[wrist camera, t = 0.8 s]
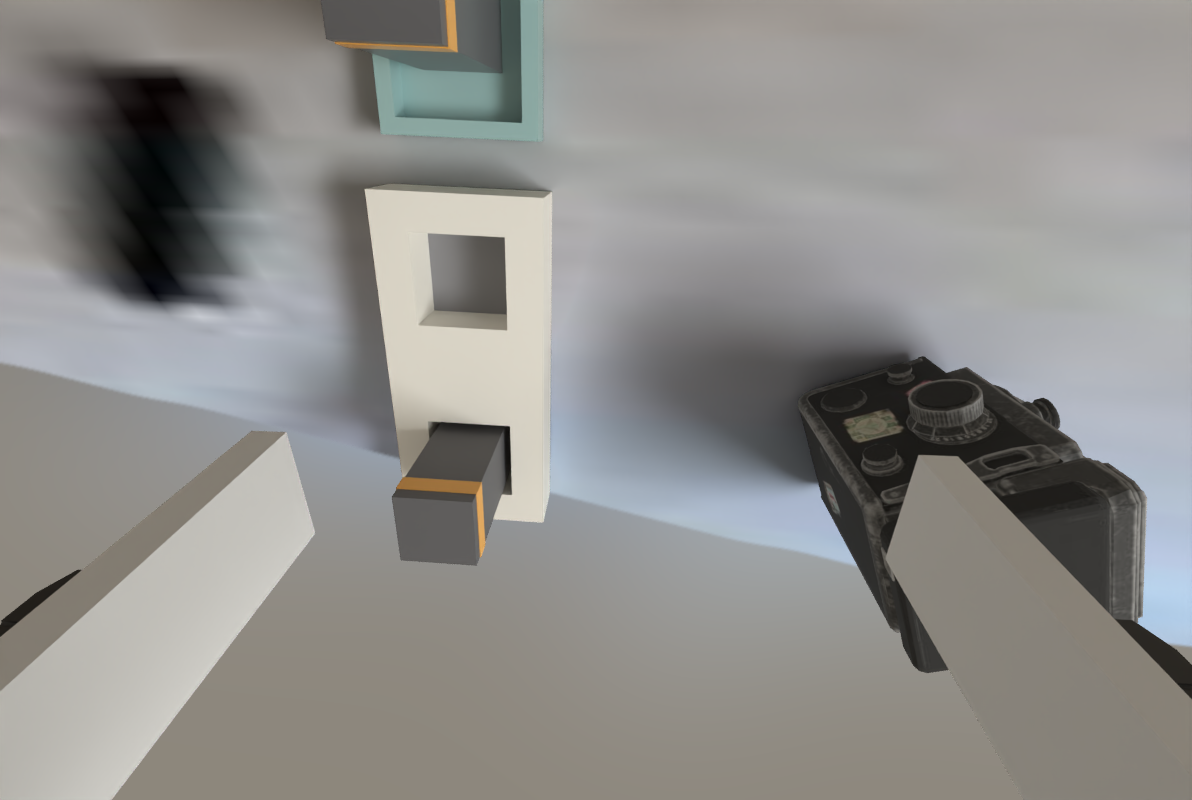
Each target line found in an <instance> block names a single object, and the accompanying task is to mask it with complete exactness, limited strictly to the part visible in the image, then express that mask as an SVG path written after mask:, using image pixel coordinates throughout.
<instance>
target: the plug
mask: <svg viewBox="0 0 1192 800" xmlns="http://www.w3.org/2000/svg"><path fill="white" fill-rule="evenodd" d="M321 5H322V12H323V19H324V26H325V33H326V39H328V40H331V41H334V42H335V44H337V45H340V46H344V47H347V48H356V49H359V50H362V51H365V52H369V53H372V54H375V55H378V56H381V57H384V58H387V59H391V60H394V61H397V62H400V63H403V64H406V65H410V66H413V67H416V68H419V69H422V70H434V71H457V72H479V73H502V74H503V71H502V34H501V0H321Z"/></svg>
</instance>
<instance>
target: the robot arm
mask: <svg viewBox="0 0 1192 800" xmlns="http://www.w3.org/2000/svg"><path fill="white" fill-rule="evenodd" d="M314 534H315V530H314V527H313V524H312V520H311V517H310V513H309V510H308V506H307V503H306V499H305V496H304V493H303V489H302V485H301V482H300V478H299V475H298V471H297V468H296V464H295V461H294V457H293V454H292V450H291V447H290V443H289V440H288V437H287V433H286V432H267V431H251V432H250V433H249V434H247V435H246V436H245V437H244V438H242V439H241V440H240V441H239V442H238V443H236V444H235V445H234V446H233V447H231V448H230V449H229V450H228V451H227V452H225V453H224V454H223V455H222V456H220V457H219V458H218V459H217V460H216V461H214V462H213V463H212V464H211V465H209V466H208V467H207V468H206V469H205V470H203V471H202V472H201V473H200V474H199V475H197V476H196V477H195V478H194V479H192V480H191V481H190V482H189V483H187V484H186V485H185V486H184V487H183V488H182V489H180V490H179V491H178V492H177V493H175V494H174V495H173V496H172V497H171V498H169V499H168V500H167V501H166V502H164V503H163V504H162V505H161V506H160V507H158V508H157V509H156V510H155V511H153V512H152V513H151V514H150V515H148V516H147V517H146V518H145V519H144V520H142V521H141V522H140V523H139V524H138V525H136V526H135V527H134V528H133V529H131V530H130V531H129V532H128V533H127V534H125V535H124V536H123V537H122V538H121V539H119V540H118V541H117V542H116V543H114V544H113V545H112V546H111V547H110V548H108V549H107V550H106V551H105V552H103V553H102V554H101V555H100V556H98V557H97V558H96V559H95V560H94V561H92V562H91V563H90V564H89V565H88V566H86V567H85V568H84V569H83V570H76V571H75V572H73V573H71V574H69V575H68V576H66V577H64V578H62V579H60V580H58V581H57V582H55V583H53V584H51V585H49V586H48V587H46V588H44V589H42V590H40V591H39V592H37V593H35V594H34V595H33V596H32V597H30V598H29V599H28V600H27V601H25V602H24V603H23V604H22V605H20V606H19V607H18V608H17V609H15V610H14V611H13V612H11V613H10V614H9V615H8V616H6V617H5V618H4V619H3V620H2V623H1V625H0V800H112V798H113V797H114V796H115V795H116V793H117V792H118V791H119V789H120V788H121V787H122V785H123V784H124V783H125V781H126V780H127V779H128V777H129V776H130V775H131V773H132V772H133V771H134V770H135V768H136V767H137V766H138V764H139V763H140V762H141V761H142V759H143V758H144V757H145V755H146V754H147V753H148V751H149V750H150V749H151V747H152V746H153V745H154V744H155V742H156V741H157V740H158V738H159V737H160V735H161V734H162V733H163V732H164V730H165V729H166V728H167V727H168V725H169V724H170V723H171V721H172V720H173V719H174V717H175V716H176V715H177V713H178V712H179V711H180V709H181V708H182V707H183V706H184V704H185V703H186V702H187V700H188V699H189V698H190V696H191V695H192V694H193V692H194V691H195V690H196V689H197V687H198V686H199V685H200V683H201V682H202V681H203V679H204V678H205V677H206V676H207V674H208V673H209V672H210V670H211V669H212V668H213V666H214V665H215V664H216V662H217V661H218V660H219V659H220V657H221V656H222V655H223V653H224V652H225V651H226V649H227V648H228V647H229V645H230V644H231V643H232V641H233V640H234V639H235V638H236V636H237V634H239V632H240V631H241V630H242V628H243V627H244V626H245V624H246V623H247V622H248V621H249V619H250V618H251V617H252V615H253V614H254V613H255V611H256V610H257V609H258V607H259V606H260V605H261V604H262V602H263V601H264V600H265V598H266V597H267V596H268V594H269V593H270V592H271V591H272V589H273V588H274V586H275V585H276V584H277V583H278V581H279V580H280V579H281V577H282V576H283V575H284V574H285V572H286V571H287V570H288V568H289V567H290V565H291V564H292V563H293V562H294V560H295V559H296V558H297V557H298V555H299V554H300V553H301V551H302V550H303V549H304V547H305V546H306V545H307V543H308V542H309V541H310V540H311V538H312V537H313V536H314ZM885 559H886V561H887V563H888V565H889V566H890V568H891V570H892V572H893V573H894V575H895V577H896V579H897V580H898V582H899V584H900V586H901V587H902V589H903V591H904V593H905V594H906V596H907V598H908V600H909V601H910V603H911V605H912V607H913V608H914V610H915V612H916V613H917V615H918V617H919V619H920V620H921V622H922V624H923V626H924V627H925V629H926V631H927V633H928V634H929V636H930V638H931V640H932V641H933V643H934V645H935V647H936V648H937V650H938V652H939V654H940V655H941V657H942V659H943V661H944V662H945V664H946V666H947V668H948V669H949V671H950V673H951V674H952V676H953V678H954V680H955V681H956V683H957V685H958V686H959V688H960V690H961V692H962V694H963V695H964V697H965V699H966V701H967V702H968V704H969V706H970V707H971V709H972V711H973V713H974V715H975V716H976V718H977V720H978V722H979V723H980V725H981V727H982V728H983V730H984V732H985V734H986V735H987V737H988V739H989V741H990V742H991V744H992V746H993V748H994V749H995V751H996V753H997V754H998V756H999V758H1000V760H1001V762H1002V763H1003V765H1004V767H1005V769H1006V770H1007V772H1008V774H1009V775H1010V777H1011V779H1012V781H1013V782H1014V784H1015V786H1016V788H1017V789H1018V791H1019V793H1020V795H1021V796H1022V798H1023V800H1192V665H1191V664H1190V663H1189V662H1188V661H1187V660H1186V659H1185V658H1184V657H1183V656H1182V655H1181V654H1180V653H1179V652H1178V651H1177V650H1175V649H1174V648H1173V647H1171V646H1170V645H1168V644H1167V643H1166V642H1164V641H1163V640H1161V639H1160V638H1158V637H1157V636H1155V635H1154V634H1152V633H1151V632H1149V631H1148V630H1146V629H1145V628H1143V627H1142V626H1140V625H1139V624H1137V623H1136V622H1134V621H1133V620H1122V619H1114V618H1113V617H1112V616H1111V615H1110V614H1109V613H1108V612H1107V611H1106V610H1105V609H1104V608H1103V607H1102V606H1101V605H1100V604H1099V603H1098V602H1097V600H1096V599H1095V598H1094V597H1093V596H1092V595H1091V594H1090V593H1089V592H1088V591H1087V590H1086V589H1085V588H1084V587H1083V586H1082V585H1081V584H1080V583H1079V582H1078V581H1077V580H1076V579H1075V578H1074V577H1073V576H1072V575H1071V573H1070V572H1069V571H1068V570H1067V569H1066V568H1065V567H1064V566H1063V565H1062V564H1061V563H1060V562H1059V561H1058V560H1057V559H1056V558H1055V557H1054V556H1053V555H1052V554H1051V553H1050V552H1049V551H1048V550H1047V549H1046V548H1045V546H1044V545H1043V544H1042V543H1041V542H1040V541H1039V540H1038V539H1037V538H1036V537H1035V536H1034V535H1033V534H1032V533H1031V532H1030V531H1029V530H1028V529H1027V528H1026V527H1025V526H1024V525H1023V524H1022V523H1021V522H1020V521H1019V519H1018V518H1017V517H1016V516H1015V515H1014V514H1013V513H1012V512H1011V511H1010V510H1009V509H1008V508H1007V507H1006V506H1005V505H1004V504H1003V503H1002V502H1001V501H1000V500H999V499H998V498H997V497H996V496H995V495H994V494H993V492H992V491H991V490H990V489H989V488H988V487H987V486H986V485H985V484H984V483H983V482H982V481H981V480H980V479H979V478H978V477H977V476H976V475H975V474H974V473H973V472H972V471H971V470H970V469H969V468H968V467H967V465H966V464H965V463H964V462H963V461H962V460H961V459H960V458H959V457H958V456H934V455H918V458H917V461H916V464H915V468H914V471H913V474H912V477H911V480H910V483H909V486H908V489H907V493H906V496H905V499H904V502H903V505H902V508H901V511H900V514H899V518H898V521H897V524H896V527H895V530H894V533H893V536H892V540H891V543H890V546H889V549H888V552H887V555H886V558H885Z"/></svg>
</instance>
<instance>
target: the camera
mask: <svg viewBox="0 0 1192 800" xmlns="http://www.w3.org/2000/svg"><path fill="white" fill-rule="evenodd" d="M798 408H799V410H800V413H801V417H802V421H803V425H804V429H805V432H806V436H807V440H808V444H809V448H810V452H811V456H812V460H813V464H814V468H815V472H816V475H817V479H818V483H819V487H820V491H821V498H822V500H823V502H824V504H825V505H826V507H827V509H828V511H829V513H830V515H831V517H832V519H833V521H834V522H835V524H836V526H837V528H838V530H839V532H840V534H841V536H842V537H843V539H844V541H845V543H846V545H847V547H848V549H849V551H850V552H851V554H852V556H853V558H854V560H855V562H856V564H857V566H858V568H859V569H860V571H861V573H862V575H863V577H864V579H865V581H866V583H867V584H868V586H869V588H870V590H871V592H872V594H873V596H874V597H875V600H876V601H877V603H878V605H879V607H880V609H881V611H882V613H883V614H884V616H885V618H886V620H887V622H888V624H889V626H890V628H892V629H893V630H894V631H895V632H897V633H899V632H900V633H901V637H902V642H903V647H904V649H905V651H906V653H907V654H908V656H909V658H910V660H911V662H912V664H913V666H914V667H916V668H917V669H918V670H919V671H922V672H925V673H931V672H937V671H944V670H949V669H948V668H947V666H946V664H945V662H944V661H943V659H942V657H941V655H940V654H939V652H938V650H937V648H936V647H935V645H934V643H933V641H932V640H931V638H930V636H929V634H928V633H927V631H926V629H925V627H924V626H923V624H922V622H921V620H920V619H919V617H918V615H917V613H916V612H915V610H914V608H913V607H912V605H911V603H910V601H909V600H908V598H907V596H906V594H905V593H904V591H903V589H902V587H901V586H900V584H899V582H898V580H897V579H896V577H895V575H894V573H893V572H892V570H891V568H890V566H889V565H888V563H887V561H886V559H885V558H886V555H887V552H888V549H889V546H890V543H891V540H892V536H893V533H894V530H895V527H896V524H897V521H898V518H899V514H900V511H901V508H902V505H903V502H904V499H905V496H906V493H907V489H908V486H909V483H910V480H911V477H912V474H913V471H914V468H915V464H916V461H917V458H918V455H934V456H958V457H959V458H960V459H961V460H962V461H963V462H964V463H965V464H966V465H967V467H968V468H969V469H970V470H971V471H972V472H973V473H974V474H975V475H976V476H977V477H978V478H979V479H980V480H981V481H982V482H983V483H984V484H985V485H986V486H987V487H988V488H989V489H990V490H991V491H992V492H993V494H994V495H995V496H996V497H997V498H998V499H999V500H1000V501H1001V502H1002V503H1003V504H1004V505H1005V506H1006V507H1007V508H1008V509H1009V510H1010V511H1011V512H1012V513H1013V514H1014V515H1015V516H1016V517H1017V518H1018V519H1019V521H1020V522H1021V523H1022V524H1023V525H1024V526H1025V527H1026V528H1027V529H1028V530H1029V531H1030V532H1031V533H1032V534H1033V535H1034V536H1035V537H1036V538H1037V539H1038V540H1039V541H1040V542H1041V543H1042V544H1043V545H1044V546H1045V548H1046V549H1047V550H1048V551H1049V552H1050V553H1051V554H1052V555H1053V556H1054V557H1055V558H1056V559H1057V560H1058V561H1059V562H1060V563H1061V564H1062V565H1063V566H1064V567H1065V568H1066V569H1067V570H1068V571H1069V572H1070V573H1071V575H1072V576H1073V577H1074V578H1075V579H1076V580H1077V581H1078V582H1079V583H1080V584H1081V585H1082V586H1083V587H1084V588H1085V589H1086V590H1087V591H1088V592H1089V593H1090V594H1091V595H1092V596H1093V597H1094V598H1095V599H1096V600H1097V602H1098V603H1099V604H1100V605H1101V606H1102V607H1103V608H1104V609H1105V610H1106V611H1107V612H1108V613H1109V614H1110V615H1111V616H1112V617H1113V618H1114V619H1122V620H1133V621H1134V622H1136V623H1138V618H1140V617H1142V616H1143V587H1144V561H1145V535H1146V510H1147V497H1146V495H1145V493H1144V492H1143V491H1142V490H1141V489H1140V488H1139V486H1138V485H1137V484H1136V483H1135V481H1133V480H1132V479H1130V478H1129V477H1127V476H1126V475H1125V474H1123V473H1122V472H1120V471H1119V470H1117V469H1116V468H1114V467H1113V466H1112V465H1110V464H1109V463H1101V462H1100V461H1096V460H1092V459H1090V458H1086V457H1084V456H1083V455H1082V451H1081V450H1080V448H1079V446H1078V444H1077V443H1076V442H1075V441H1074V440H1072V439H1071V438H1069V437H1068V436H1067V435H1065V434H1064V433H1062V432H1061V431H1059V430H1058V428H1059V427H1060V418H1059V415H1058V412H1057V410H1056V408H1055V407H1054V406H1053V404H1052V403H1051V402H1050V401H1049V400H1047V399H1045V398H1040V399H1036V400H1034V402H1033V403H1030V402H1024V401H1023V400H1021V399H1019V398H1017V397H1015V396H1013V395H1012V394H1011V393H1010V392H1009V391H1007V390H1005V389H1004V388H1001V387H999V386H996V385H992V384H991V383H989V382H988V381H986V380H985V379H983V378H982V377H980V376H979V375H978V374H976V373H975V372H973V371H972V370H970V369H969V368H967V367H965V368H962V369H959V370H955V371H952V372H948V373H945V372H944V371H943V370H941V369H940V368H939V367H937V366H936V365H935V364H933V363H932V362H931V361H929V360H928V359H927V358H925V357H919V358H918V359H916V360H913V361H909V362H906V363H900V364H896V365H892V366H890V367H889V368H886V369H882V370H879V371H876V372H872V373H869V374H865V375H862V376H859V377H855V378H852V379H848V380H845V381H842V382H838V383H835V384H832V385H828V386H825V387H821V388H818V389H815V390H811V391H809V392H807V393H805V394H804V395H802V396H801V397H800V398H799V401H798Z"/></svg>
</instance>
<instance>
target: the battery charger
mask: <svg viewBox="0 0 1192 800" xmlns="http://www.w3.org/2000/svg"><path fill="white" fill-rule="evenodd" d="M365 195H366V203H367V211H368V219H369V226H370V234H371V242H372V249H373V257H374V265H375V272H376V280H377V288H378V295H379V303H380V311H381V318H382V326H383V334H384V341H385V349H386V357H387V364H388V372H389V380H390V387H391V395H392V403H393V410H394V418H395V426H396V433H397V441H398V449H399V456H400V464H401V472H402V480H401V481H400V483H399V484H398V486H397V487H396V491H395V493H394V494H393V496H392V502H393V509H394V516H395V523H396V530H397V537H398V544H399V551H400V558H401V560H405V561H419V562H434V563H447V564H462V565H475V566H476V565H477V563H478V560H479V558H480V557H481V556H482V553H483V550H484V547H485V541H486V538H487V535H488V532H489V529H490V527H491V524H492V521H493V519H498V520H514V521H528V522H543V521H544V517H545V512H546V508H547V503H548V498H549V494H550V411H551V280H552V192H549V191H529V190H509V189H489V188H469V187H449V186H430V185H410V184H386V185H381V186H376V187H372V188H367V189H365Z"/></svg>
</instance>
